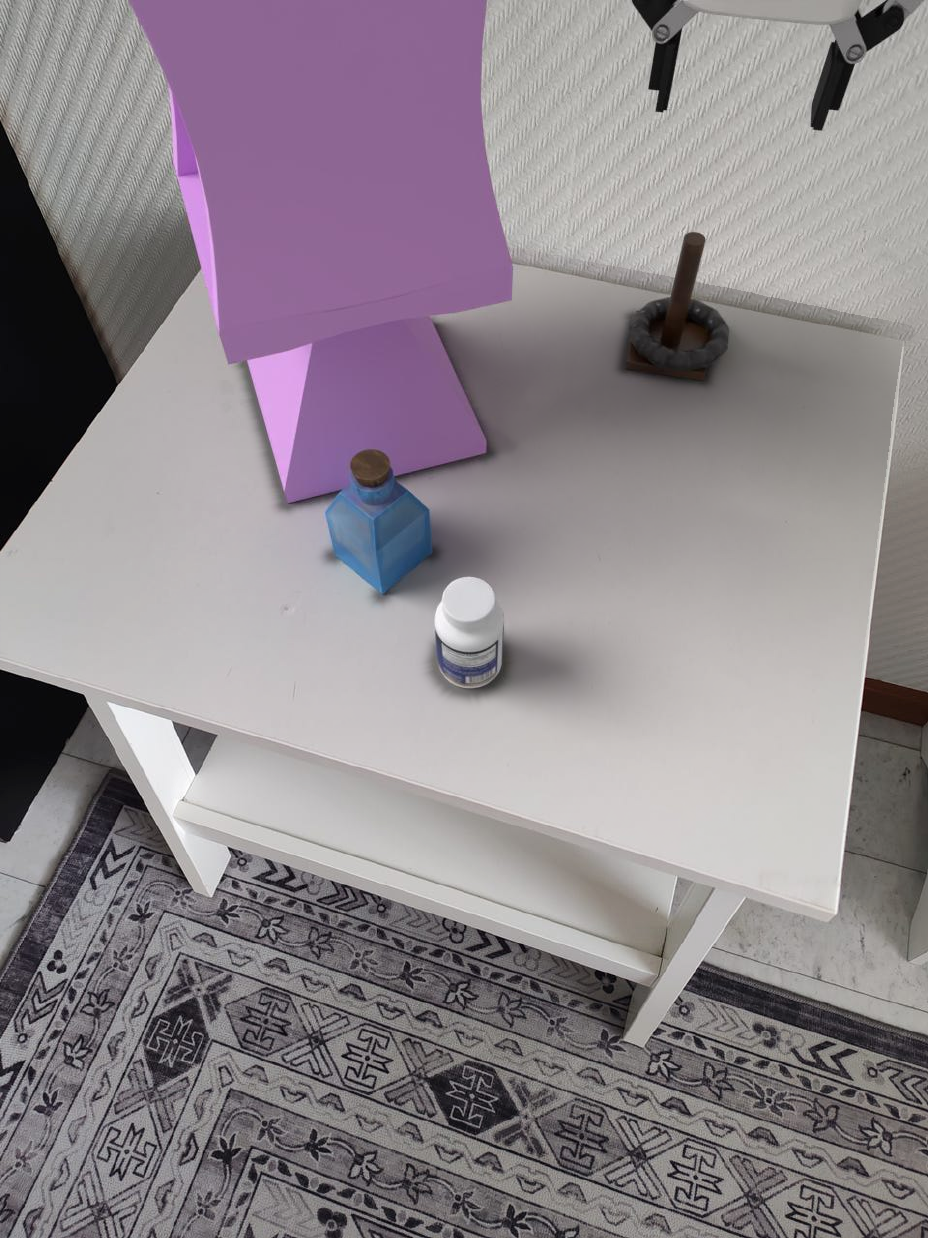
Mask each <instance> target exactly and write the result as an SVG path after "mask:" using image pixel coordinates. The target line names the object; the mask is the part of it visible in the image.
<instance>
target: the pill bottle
mask: <svg viewBox="0 0 928 1238" xmlns="http://www.w3.org/2000/svg"><path fill="white" fill-rule="evenodd" d="M504 615H505V614H504V611H503V608H502V606H501V604H500V603H499V601H498V599H496V594H495V591H494V589H493V588H492V586H491V585H490V584H489V583H488V582H487V581H485V580H484V579H482V578H480V577H474V576H463V577H459V578H457V579H454V580H453V581H451V582H449V584H448V585H447V586H445V589H444V590H443V593H442V597H441V600H440V602H439V603H438V605H437V608H436V610H435V613H434V635H435V645H436V657H437V663H438V668H439V671H440V672H441V674H442V676H443V677H444V678H445V680H447V681H448V682H450V683H451V684H453V685H454V686H457V687H460V688H464V689H477V688H481V687H484V686H486V685H489V684H490V683H491V682H493V680H494V679H496V677H497V676H498V674H499V673H500V671H501V668H502V665H503V657H504V634H505V633H504V632H505V616H504Z"/></svg>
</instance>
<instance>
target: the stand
mask: <svg viewBox="0 0 928 1238" xmlns="http://www.w3.org/2000/svg"><path fill="white" fill-rule="evenodd" d="M706 241H707V239H706V236H705V235H704V234H702V233H700V232H697V231H690V232H687V233H685V234H684V235H683V240H682V244H681V248H680V252H679V257H678V262H677V265H676V270H675V274H674V275H675V276H674V279H673V284H672V288H671V292H670V293H671V294H670V296H669V297H670V301H669V305H668V310H667V314H666V318H664V319H660V320H657V321H656V322H655V323H654V324H652V325H651V326H650V334H651V335H652V337H653V338H654V340H655V341H656V342H658V343H660V344H662V345H663V346H665V347H667V348H669V349H676V350H683V351H689V350H693V349H697V348H701V347H702V346H704V345H705V344H706V343H707V342H708V338H709V335H708V333H707V332H706V330H705V329H704V327H703V326H701V325H700V324H698V323H696V322H694V321H692V320H690V319H686V317H687V313H688V309H689V305H690V301H691V299H692V298H693V297H692V296H693V292H694V289H695V284H696V281H697V276H698V272H699V269H700V265H701V261H702V257H703V252H704V249H705V244H706ZM638 311H639V310H636V312H635V313H637V312H638ZM625 369H626V370H630V371H631V370H632V371H637V372H643V373H652V374H656V375H663V376H671V377H678V378H683V379H690V380H697V381H705V377H706V373H707V367H705V368H701V369H697V370H693V371H688V372H682V371H675V370H668V369H662V368H659V367H658V366H656V365H654V364H652V363H651V362H649V361H647V360H645V359H644V358H642V357H641V356H640V355H639V354H638V352H637V350H636V349H635V347H634V345H633V344H632V342H631V341H630V344H629V349H628V353H627V359H626V364H625Z"/></svg>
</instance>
